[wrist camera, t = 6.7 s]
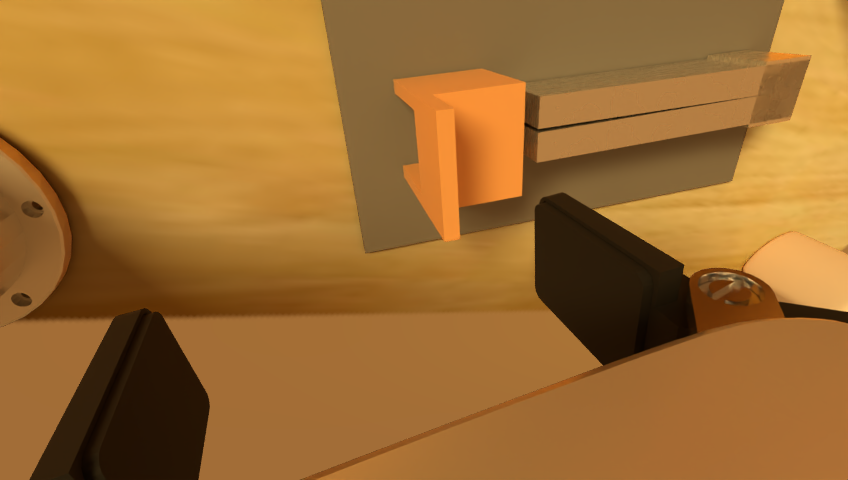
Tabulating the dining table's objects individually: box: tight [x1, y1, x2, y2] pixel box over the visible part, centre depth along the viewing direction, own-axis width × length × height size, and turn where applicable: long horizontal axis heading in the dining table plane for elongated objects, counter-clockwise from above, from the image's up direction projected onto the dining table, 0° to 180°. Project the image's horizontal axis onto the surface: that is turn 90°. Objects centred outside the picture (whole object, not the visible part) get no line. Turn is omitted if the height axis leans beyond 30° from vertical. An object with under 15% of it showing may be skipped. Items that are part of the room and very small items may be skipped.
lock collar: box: [393, 68, 526, 242], centre depth 21 cm, size 5×6×8 cm
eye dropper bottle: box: [743, 232, 848, 312], centre depth 33 cm, size 4×6×12 cm
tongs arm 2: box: [524, 50, 811, 129], centre depth 24 cm, size 16×2×4 cm, turn 95°
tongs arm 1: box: [523, 89, 800, 163], centre depth 25 cm, size 16×2×4 cm, turn 96°
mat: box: [321, 0, 784, 253], centre depth 26 cm, size 28×15×1 cm, turn 95°
